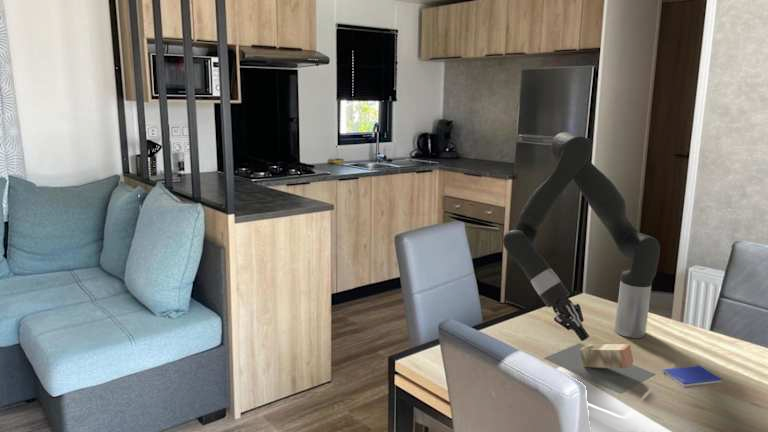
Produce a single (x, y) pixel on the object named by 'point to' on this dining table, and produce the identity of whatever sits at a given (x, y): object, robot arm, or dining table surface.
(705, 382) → the hard drive
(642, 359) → the dining table surface
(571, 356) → the rubber mat
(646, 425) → the dining table surface
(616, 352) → the birch block
